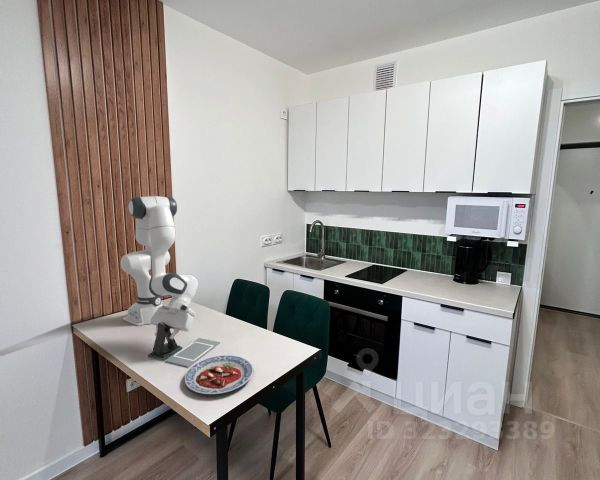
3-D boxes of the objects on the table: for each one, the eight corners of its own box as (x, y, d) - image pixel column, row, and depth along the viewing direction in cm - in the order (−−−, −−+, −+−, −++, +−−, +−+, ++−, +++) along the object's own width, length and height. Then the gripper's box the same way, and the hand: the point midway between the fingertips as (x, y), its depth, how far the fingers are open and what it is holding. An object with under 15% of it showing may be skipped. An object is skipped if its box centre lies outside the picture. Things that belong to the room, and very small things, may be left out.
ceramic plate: (220, 408, 111) (219, 400, 110) (170, 384, 124) (169, 377, 123) (266, 371, 132) (266, 364, 132) (219, 354, 145) (219, 348, 145)
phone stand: (158, 355, 141) (156, 329, 139) (152, 350, 145) (150, 325, 143) (178, 348, 147) (176, 322, 145) (172, 343, 151) (170, 319, 149)
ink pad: (148, 356, 143) (147, 353, 143) (166, 345, 153) (166, 342, 153) (164, 360, 140) (164, 357, 139) (182, 348, 150) (182, 345, 150)
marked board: (165, 361, 139) (165, 360, 139) (199, 339, 159) (198, 337, 159) (188, 367, 135) (188, 366, 134) (219, 343, 155) (219, 341, 155)
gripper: (156, 302, 153) (140, 330, 146) (191, 308, 146) (177, 338, 138) (163, 308, 158) (149, 335, 151) (198, 314, 151) (185, 343, 143)
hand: (163, 337), depth 144 cm, fingers open, 6 cm apart
